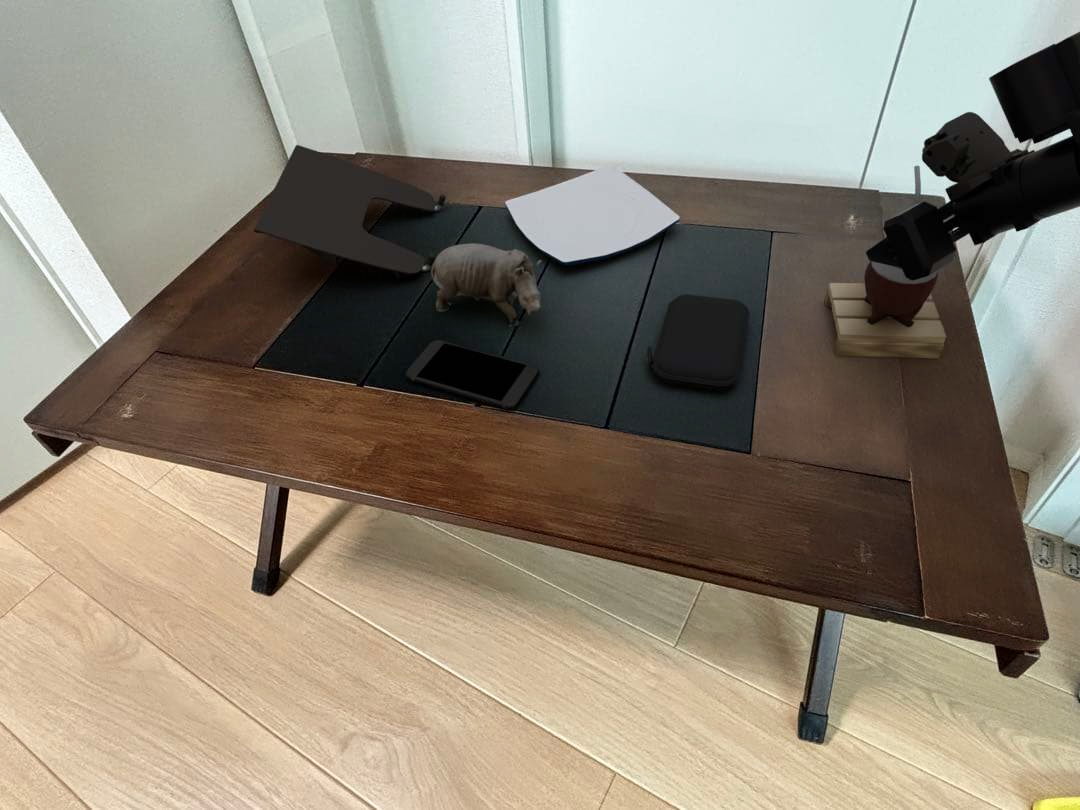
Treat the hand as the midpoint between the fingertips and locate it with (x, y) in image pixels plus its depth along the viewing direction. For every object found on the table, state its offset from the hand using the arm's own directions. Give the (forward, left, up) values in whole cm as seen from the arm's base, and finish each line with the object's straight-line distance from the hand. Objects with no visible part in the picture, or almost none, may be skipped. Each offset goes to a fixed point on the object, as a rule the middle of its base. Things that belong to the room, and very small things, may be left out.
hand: (897, 239), depth 76 cm
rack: (-1, +1, -12) cm, 12 cm away
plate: (+35, -21, -12) cm, 43 cm away
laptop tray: (+67, -16, -12) cm, 70 cm away
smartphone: (+46, +11, -12) cm, 49 cm away
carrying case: (+20, +5, -12) cm, 24 cm away
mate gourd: (-1, +1, -9) cm, 9 cm away
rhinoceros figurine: (+45, -1, -12) cm, 47 cm away
